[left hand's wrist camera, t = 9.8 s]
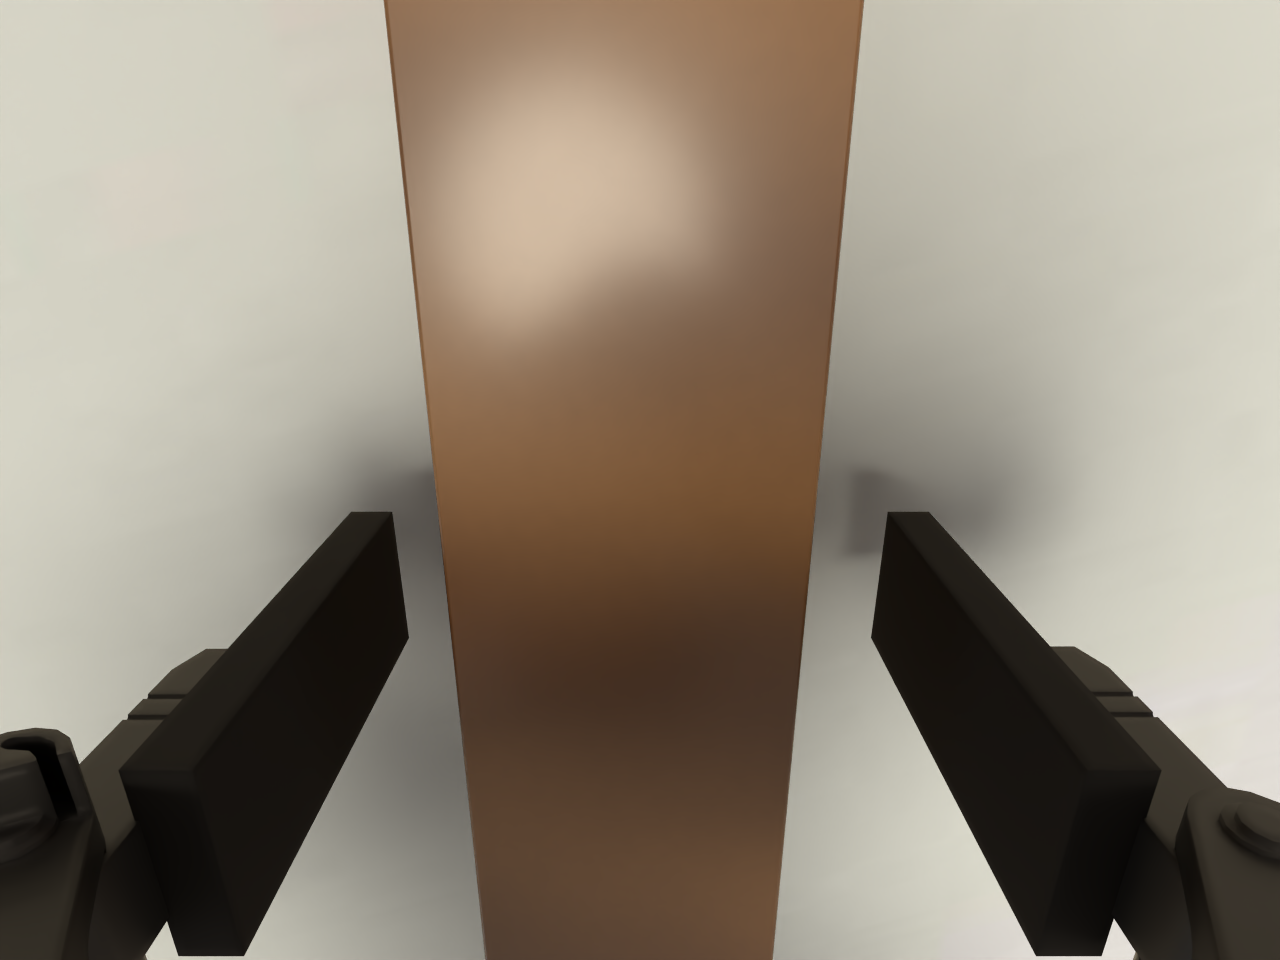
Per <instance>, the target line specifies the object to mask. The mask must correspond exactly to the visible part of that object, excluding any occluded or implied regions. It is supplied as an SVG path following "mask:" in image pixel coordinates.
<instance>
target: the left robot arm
mask: <svg viewBox="0 0 1280 960" xmlns="http://www.w3.org/2000/svg"><path fill="white" fill-rule="evenodd" d="M408 638H409V635H408V628H407V620H406V613H405V605H404V597H403V590H402V582H401V575H400V567H399V560H398V552H397V545H396V537H395V530H394V522H393V515H392V512H351V513H350V514H349V515H348V516H347V517H346V518H345V519H344V520H343V522H342V523H341V524H340V525H339V526H338V527H337V528H336V529H335V530H334V532H333V533H332V534H331V535H330V536H329V537H328V538H327V539H326V540H325V542H324V543H323V544H322V545H321V546H320V547H319V548H318V549H317V550H316V552H315V553H314V554H313V555H312V556H311V557H310V558H309V559H308V560H307V562H306V563H305V564H304V565H303V566H302V567H301V568H300V569H299V570H298V571H297V573H296V574H295V575H294V576H293V577H292V578H291V579H290V580H289V581H288V583H287V584H286V585H285V586H284V587H283V588H282V589H281V590H280V591H279V593H278V594H277V595H276V596H275V597H274V598H273V599H272V600H271V601H270V603H269V604H268V605H267V606H266V607H265V608H264V609H263V610H262V611H261V613H260V614H259V615H258V616H257V617H256V618H255V619H254V620H253V621H252V623H251V624H250V625H249V626H248V627H247V628H246V629H245V630H244V631H243V632H242V634H241V635H240V636H239V637H238V638H237V639H236V640H235V641H234V642H233V644H232V645H231V646H230V647H229V648H228V649H205V650H204V651H202V652H200V653H199V654H197V655H195V656H194V657H192V658H191V659H189V660H187V661H186V662H184V663H182V664H181V665H179V666H177V667H176V668H174V669H172V670H171V671H170V672H169V673H168V674H167V675H166V676H165V677H164V678H163V679H162V680H161V682H160V683H159V684H158V685H157V686H156V687H155V688H154V689H153V690H152V691H151V692H150V693H149V694H148V698H147V699H143V700H142V701H141V702H140V703H139V704H138V705H137V706H136V707H135V708H134V709H133V710H132V711H131V712H130V713H129V714H128V719H127V720H122V721H121V722H120V723H119V724H118V725H117V726H116V727H115V728H114V730H113V731H112V732H111V733H110V734H109V735H108V736H107V737H106V738H105V739H104V740H103V741H102V742H101V743H100V744H99V745H98V746H97V747H96V748H95V749H94V750H93V751H92V752H91V753H90V754H89V755H88V756H87V757H86V758H85V759H84V760H83V761H82V762H81V763H80V764H79V763H78V760H77V757H76V754H75V751H74V748H73V745H72V742H71V740H70V737H68V736H66V735H65V734H63V733H62V732H60V731H58V730H55V729H43V728H31V729H25V730H19V731H12V732H7V733H4V734H1V735H0V960H147V958H146V955H145V954H146V952H147V951H148V949H149V948H150V946H151V945H152V943H153V942H154V940H155V938H156V937H157V935H158V934H159V932H160V931H161V929H162V928H163V926H164V925H165V923H166V921H167V922H168V925H169V928H170V931H171V934H172V938H173V941H174V944H175V947H176V950H177V953H178V956H244V955H245V953H246V951H247V949H248V947H249V945H250V943H251V941H252V940H253V938H254V936H255V934H256V932H257V930H258V928H259V926H260V924H261V922H262V920H263V918H264V916H265V914H266V912H267V911H268V909H269V907H270V905H271V903H272V901H273V899H274V897H275V895H276V893H277V891H278V889H279V887H280V885H281V884H282V882H283V880H284V878H285V876H286V874H287V872H288V870H289V868H290V866H291V864H292V862H293V860H294V858H295V857H296V855H297V853H298V851H299V849H300V847H301V845H302V843H303V841H304V839H305V837H306V835H307V833H308V831H309V830H310V828H311V826H312V824H313V822H314V820H315V818H316V816H317V814H318V812H319V810H320V808H321V806H322V804H323V802H324V801H325V799H326V797H327V795H328V793H329V791H330V789H331V787H332V785H333V783H334V781H335V779H336V777H337V775H338V774H339V772H340V770H341V768H342V766H343V764H344V762H345V760H346V758H347V756H348V754H349V752H350V750H351V748H352V747H353V745H354V743H355V741H356V739H357V737H358V735H359V733H360V731H361V729H362V727H363V725H364V723H365V721H366V719H367V718H368V716H369V714H370V712H371V710H372V708H373V706H374V704H375V702H376V700H377V698H378V696H379V694H380V692H381V691H382V689H383V687H384V685H385V683H386V681H387V679H388V677H389V675H390V673H391V671H392V669H393V667H394V665H395V664H396V662H397V660H398V658H399V656H400V654H401V652H402V650H403V648H404V646H405V644H406V642H407V640H408ZM871 638H872V640H873V642H874V644H875V646H876V648H877V650H878V652H879V654H880V656H881V658H882V660H883V662H884V663H885V665H886V667H887V669H888V671H889V673H890V675H891V677H892V679H893V681H894V683H895V685H896V687H897V689H898V691H899V692H900V694H901V696H902V698H903V700H904V702H905V704H906V706H907V708H908V710H909V712H910V714H911V716H912V718H913V719H914V721H915V723H916V725H917V727H918V729H919V731H920V733H921V735H922V737H923V739H924V741H925V743H926V745H927V746H928V748H929V750H930V752H931V754H932V756H933V758H934V760H935V762H936V764H937V766H938V768H939V770H940V772H941V773H942V775H943V777H944V779H945V781H946V783H947V785H948V787H949V789H950V791H951V793H952V795H953V797H954V799H955V801H956V802H957V804H958V806H959V808H960V810H961V812H962V814H963V816H964V818H965V820H966V822H967V824H968V826H969V828H970V829H971V831H972V833H973V835H974V837H975V839H976V841H977V843H978V845H979V847H980V849H981V851H982V853H983V855H984V856H985V858H986V860H987V862H988V864H989V866H990V868H991V870H992V872H993V874H994V876H995V878H996V880H997V882H998V884H999V885H1000V887H1001V889H1002V891H1003V893H1004V895H1005V897H1006V899H1007V901H1008V903H1009V905H1010V907H1011V909H1012V911H1013V912H1014V914H1015V916H1016V918H1017V920H1018V922H1019V924H1020V926H1021V928H1022V930H1023V932H1024V934H1025V936H1026V938H1027V939H1028V941H1029V943H1030V945H1031V947H1032V949H1033V951H1034V953H1035V955H1036V956H1102V953H1103V950H1104V947H1105V944H1106V941H1107V938H1108V935H1109V931H1110V928H1111V925H1112V922H1113V919H1115V921H1116V922H1117V924H1118V925H1119V927H1120V928H1121V930H1122V931H1123V933H1124V934H1125V936H1126V937H1127V939H1128V941H1129V942H1130V944H1131V945H1132V947H1133V948H1134V950H1135V951H1136V953H1135V955H1134V958H1133V960H1280V803H1278V802H1276V801H1273V800H1270V799H1268V798H1265V797H1262V796H1260V795H1257V794H1254V793H1252V792H1248V791H1242V790H1237V789H1231V788H1227V787H1226V786H1225V785H1224V784H1223V783H1222V782H1221V781H1220V780H1219V779H1218V778H1217V777H1216V776H1215V775H1214V774H1213V773H1212V772H1211V771H1210V770H1209V769H1208V768H1207V767H1206V766H1205V765H1204V764H1203V763H1202V762H1201V761H1200V759H1199V758H1198V757H1197V756H1196V755H1195V754H1194V753H1193V752H1192V751H1191V750H1190V749H1189V748H1188V747H1187V746H1186V745H1185V744H1184V743H1183V742H1182V741H1181V740H1180V739H1179V738H1178V737H1177V736H1176V735H1175V734H1174V733H1173V732H1172V731H1171V730H1170V729H1169V728H1168V727H1167V726H1166V725H1165V724H1164V723H1163V722H1162V721H1161V720H1160V719H1159V718H1158V717H1153V712H1152V711H1151V710H1150V709H1149V708H1148V707H1147V706H1146V705H1145V704H1144V703H1143V702H1142V701H1141V700H1140V699H1139V698H1138V697H1134V696H1133V691H1132V690H1131V689H1130V688H1129V687H1128V686H1127V685H1126V684H1125V683H1124V682H1123V681H1122V680H1121V679H1120V678H1119V677H1118V676H1117V675H1116V674H1115V673H1114V672H1113V671H1112V670H1111V669H1110V668H1109V667H1107V666H1106V665H1104V664H1102V663H1101V662H1099V661H1097V660H1096V659H1094V658H1092V657H1091V656H1089V655H1087V654H1086V653H1084V652H1082V651H1081V650H1079V649H1078V648H1076V647H1050V646H1049V645H1048V644H1047V642H1046V641H1045V640H1044V639H1043V638H1042V637H1041V636H1040V635H1039V634H1038V632H1037V631H1036V630H1035V629H1034V628H1033V627H1032V626H1031V625H1030V624H1029V622H1028V621H1027V620H1026V619H1025V618H1024V617H1023V616H1022V615H1021V614H1020V613H1019V611H1018V610H1017V609H1016V608H1015V607H1014V606H1013V605H1012V604H1011V603H1010V601H1009V600H1008V599H1007V598H1006V597H1005V596H1004V595H1003V594H1002V593H1001V591H1000V590H999V589H998V588H997V587H996V586H995V585H994V584H993V583H992V581H991V580H990V579H989V578H988V577H987V576H986V575H985V574H984V573H983V571H982V570H981V569H980V568H979V567H978V566H977V565H976V564H975V563H974V561H973V560H972V559H971V558H970V557H969V556H968V555H967V554H966V553H965V552H964V550H963V549H962V548H961V547H960V546H959V545H958V544H957V543H956V542H955V540H954V539H953V538H952V537H951V536H950V535H949V534H948V533H947V532H946V530H945V529H944V528H943V527H942V526H941V525H940V524H939V523H938V522H937V520H936V519H935V518H934V517H933V516H932V515H931V514H930V513H929V512H888V515H887V522H886V530H885V537H884V545H883V552H882V560H881V567H880V575H879V583H878V590H877V598H876V605H875V613H874V620H873V628H872V635H871Z"/></svg>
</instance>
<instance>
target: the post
mask: <svg viewBox="0 0 1280 960" xmlns="http://www.w3.org/2000/svg"><path fill="white" fill-rule="evenodd" d="M863 6H864V0H384V8H385V17H386V27H387V36H388V45H389V55H390V64H391V74H392V83H393V92H394V102H395V111H396V121H397V130H398V140H399V149H400V158H401V168H402V177H403V187H404V196H405V206H406V215H407V224H408V234H409V243H410V253H411V262H412V272H413V281H414V290H415V300H416V309H417V319H418V328H419V338H420V347H421V356H422V366H423V375H424V385H425V394H426V404H427V413H428V422H429V432H430V441H431V451H432V460H433V470H434V479H435V488H436V498H437V507H438V517H439V526H440V536H441V545H442V554H443V564H444V573H445V583H446V592H447V602H448V611H449V620H450V630H451V639H452V649H453V658H454V668H455V677H456V686H457V696H458V705H459V715H460V724H461V734H462V743H463V752H464V762H465V771H466V781H467V790H468V800H469V809H470V818H471V828H472V837H473V847H474V856H475V866H476V875H477V884H478V894H479V903H480V913H481V922H482V932H483V941H484V950H485V960H773V950H774V939H775V929H776V918H777V908H778V897H779V887H780V876H781V866H782V855H783V845H784V834H785V824H786V813H787V803H788V792H789V782H790V771H791V761H792V750H793V740H794V729H795V719H796V708H797V698H798V688H799V677H800V667H801V656H802V646H803V635H804V625H805V614H806V604H807V593H808V583H809V572H810V562H811V551H812V541H813V530H814V520H815V509H816V499H817V488H818V478H819V467H820V457H821V446H822V436H823V426H824V415H825V405H826V394H827V384H828V373H829V363H830V352H831V342H832V331H833V321H834V310H835V300H836V289H837V279H838V268H839V258H840V247H841V237H842V226H843V216H844V205H845V195H846V184H847V174H848V164H849V153H850V143H851V132H852V122H853V111H854V101H855V90H856V80H857V69H858V59H859V48H860V38H861V27H862V17H863Z"/></svg>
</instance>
